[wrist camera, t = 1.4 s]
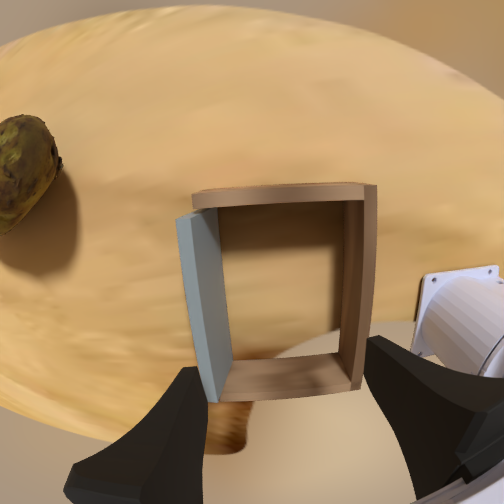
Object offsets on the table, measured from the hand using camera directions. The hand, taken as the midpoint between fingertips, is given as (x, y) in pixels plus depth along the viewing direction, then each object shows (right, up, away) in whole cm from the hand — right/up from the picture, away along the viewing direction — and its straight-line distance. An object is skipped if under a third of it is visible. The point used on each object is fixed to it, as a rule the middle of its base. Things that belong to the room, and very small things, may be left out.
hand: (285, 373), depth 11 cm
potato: (-20, +11, +7) cm, 24 cm away
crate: (+1, +3, +9) cm, 10 cm away
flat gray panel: (-4, +2, +9) cm, 10 cm away
